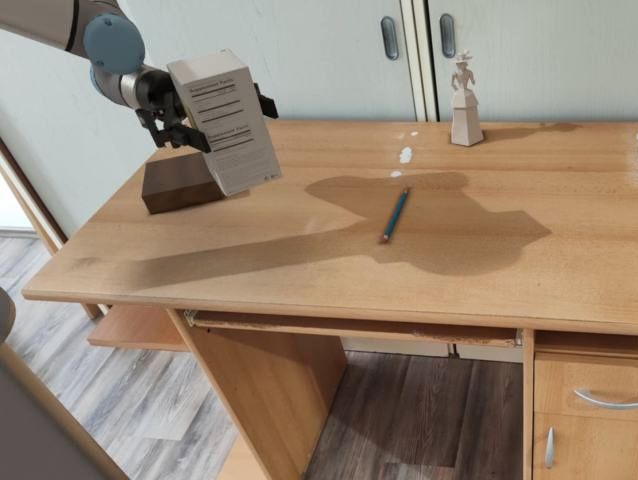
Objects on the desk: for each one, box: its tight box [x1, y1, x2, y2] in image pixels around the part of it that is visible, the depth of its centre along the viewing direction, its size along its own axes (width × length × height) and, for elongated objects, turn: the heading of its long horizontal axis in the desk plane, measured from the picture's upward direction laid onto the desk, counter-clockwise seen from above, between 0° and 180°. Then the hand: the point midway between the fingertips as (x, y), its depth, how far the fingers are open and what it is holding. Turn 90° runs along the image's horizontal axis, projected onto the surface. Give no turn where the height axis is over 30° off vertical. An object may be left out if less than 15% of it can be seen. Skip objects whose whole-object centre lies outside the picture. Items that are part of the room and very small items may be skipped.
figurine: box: [449, 48, 485, 147], centre depth 120 cm, size 7×8×18 cm
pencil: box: [381, 189, 408, 244], centre depth 107 cm, size 1×17×1 cm, turn 170°
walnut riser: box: [140, 151, 224, 215], centre depth 118 cm, size 14×14×4 cm
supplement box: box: [165, 47, 283, 197], centre depth 85 cm, size 10×9×17 cm
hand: (241, 125), depth 83 cm, fingers closed on supplement box, 11 cm apart
